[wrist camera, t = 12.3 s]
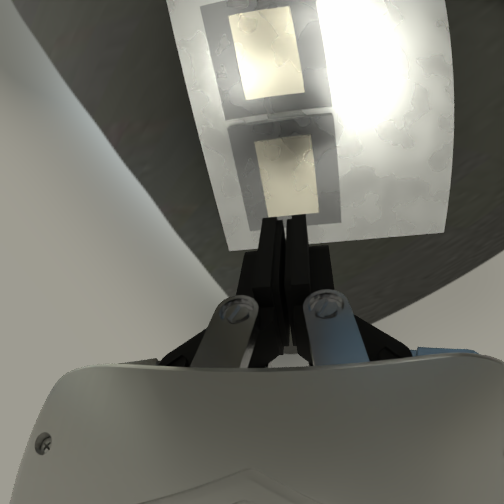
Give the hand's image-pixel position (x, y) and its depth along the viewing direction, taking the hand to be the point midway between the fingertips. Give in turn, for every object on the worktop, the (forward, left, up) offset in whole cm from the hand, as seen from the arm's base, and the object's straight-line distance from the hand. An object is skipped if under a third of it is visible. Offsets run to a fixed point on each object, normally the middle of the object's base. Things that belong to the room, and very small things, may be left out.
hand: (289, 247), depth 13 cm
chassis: (-4, +3, -10) cm, 11 cm away
